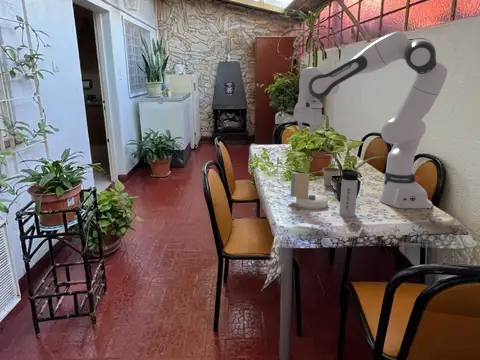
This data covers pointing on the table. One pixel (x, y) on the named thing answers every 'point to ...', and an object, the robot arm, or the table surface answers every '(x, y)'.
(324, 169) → the flower pot
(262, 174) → the table surface
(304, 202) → the white base with panel
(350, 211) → the travel mug
